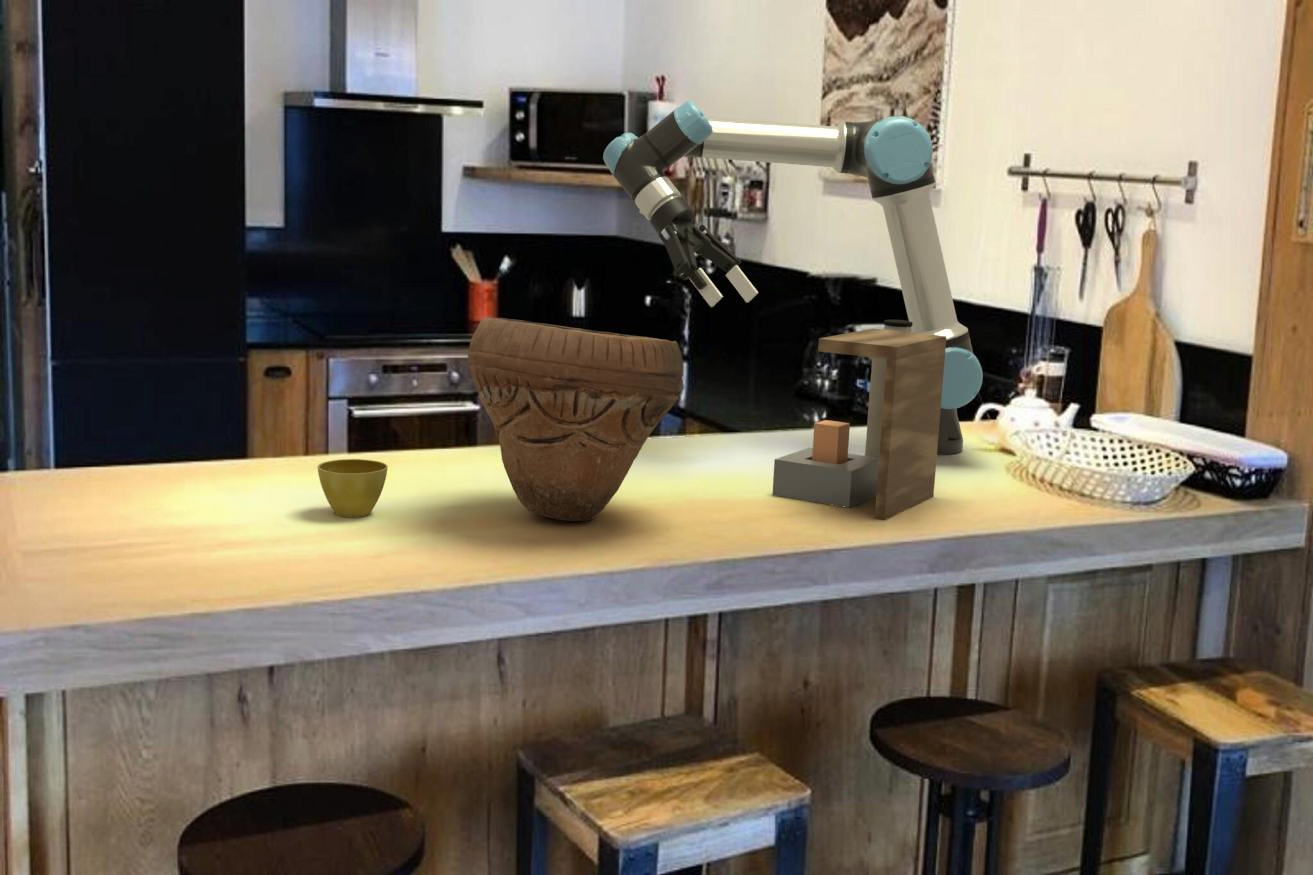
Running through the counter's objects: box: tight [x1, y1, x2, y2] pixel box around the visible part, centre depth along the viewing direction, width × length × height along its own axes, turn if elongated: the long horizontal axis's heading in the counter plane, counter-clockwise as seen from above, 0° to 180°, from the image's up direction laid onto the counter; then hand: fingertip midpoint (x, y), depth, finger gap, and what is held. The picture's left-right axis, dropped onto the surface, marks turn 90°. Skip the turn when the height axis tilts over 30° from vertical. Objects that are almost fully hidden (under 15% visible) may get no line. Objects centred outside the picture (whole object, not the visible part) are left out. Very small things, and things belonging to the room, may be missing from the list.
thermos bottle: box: [864, 319, 913, 458], centre depth 258 cm, size 8×8×28 cm
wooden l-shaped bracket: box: [817, 328, 947, 521], centre depth 239 cm, size 13×22×27 cm, turn 150°
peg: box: [812, 419, 851, 465], centre depth 244 cm, size 4×4×12 cm
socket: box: [771, 447, 879, 508], centre depth 245 cm, size 14×14×6 cm
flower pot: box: [317, 458, 389, 518], centre depth 217 cm, size 10×10×7 cm
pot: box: [467, 316, 685, 522], centre depth 220 cm, size 32×32×30 cm
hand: (735, 300), depth 261 cm, fingers open, 13 cm apart
